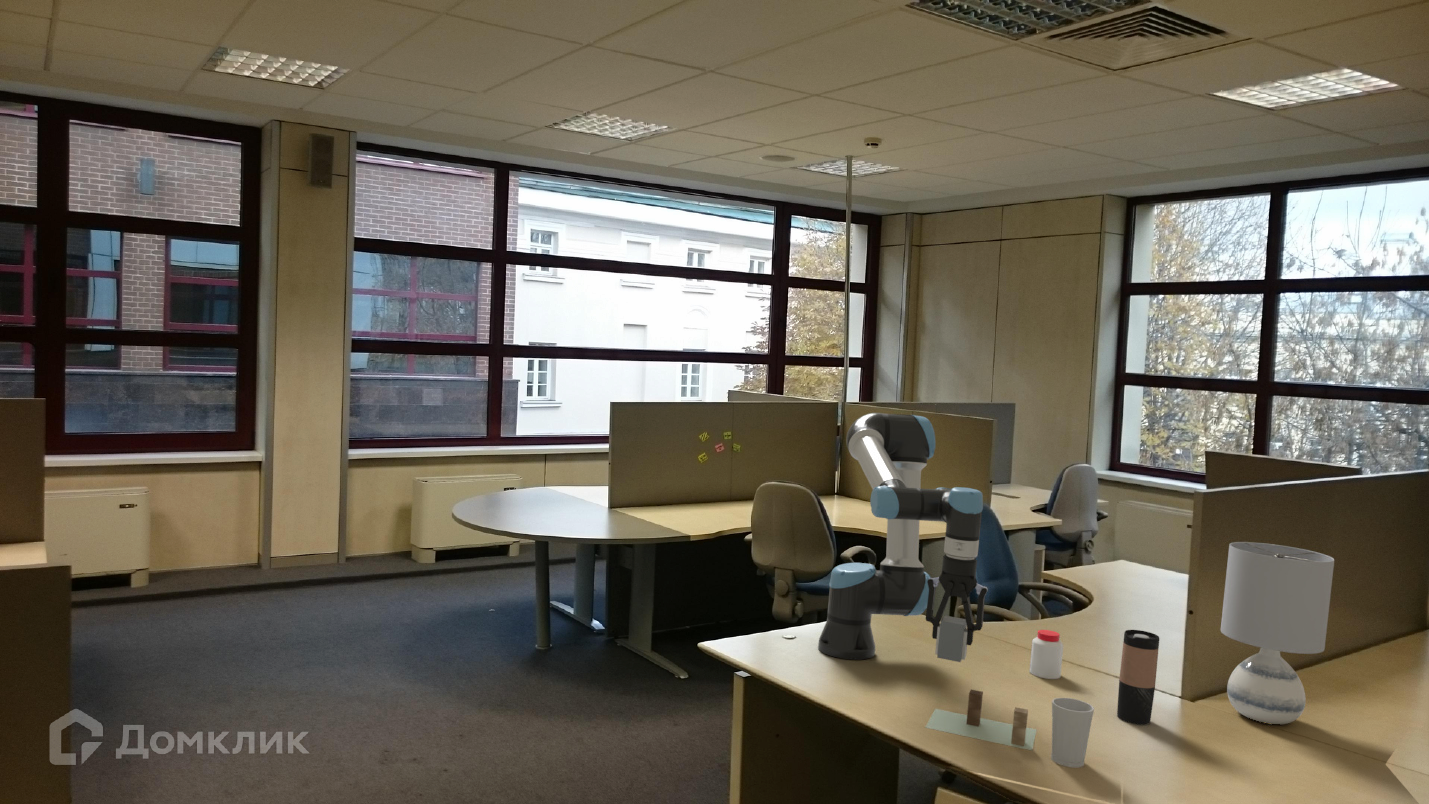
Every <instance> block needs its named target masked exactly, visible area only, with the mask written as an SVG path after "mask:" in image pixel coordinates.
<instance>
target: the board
mask: <svg viewBox="0 0 1429 804" xmlns="http://www.w3.org/2000/svg"><path fill="white" fill-rule="evenodd" d="M966 723H967V714H964V713H963V714H962V713H959V712H954V711H953V712H952V711H948V710H944V709H939V708H935V709H934V711H933V713H932V714H931V716H930V718H929V720H928V722H927V724H926V725H925V727H924V728H925V729H930V730H934V731H939V732H942V733H943V732H944V733H949V734H953V735H957V736H962V737H967V738H972V739H976V740H981V741H985V742H991V743H994V744H995V743H996V744H1000V745H1005V746H1010V747H1014V748H1018V749H1022V750H1029V751H1033V749H1034V743H1035V739H1036V734H1037V728H1031V727H1026V737H1025V744H1024V746H1020V745H1015V744H1011V739H1012V728H1013V723H1006V722H1001V721H999V720H998V721H997V720H992V719H988V718H983V717H981V718H980V724H979V727H977V726H973V725H968V724H966Z"/></svg>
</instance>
